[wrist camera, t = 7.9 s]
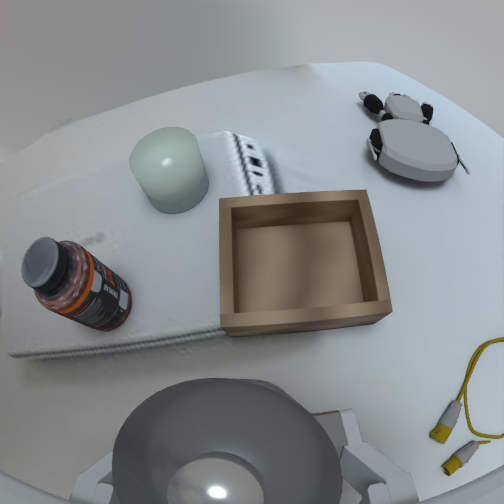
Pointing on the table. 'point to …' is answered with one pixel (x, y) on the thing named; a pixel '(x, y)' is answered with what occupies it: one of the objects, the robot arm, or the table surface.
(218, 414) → the translucent grey bottle
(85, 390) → the table surface
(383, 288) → the wooden box
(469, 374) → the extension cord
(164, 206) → the pale green dome cylinder
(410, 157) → the robot toy
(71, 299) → the supplement bottle
